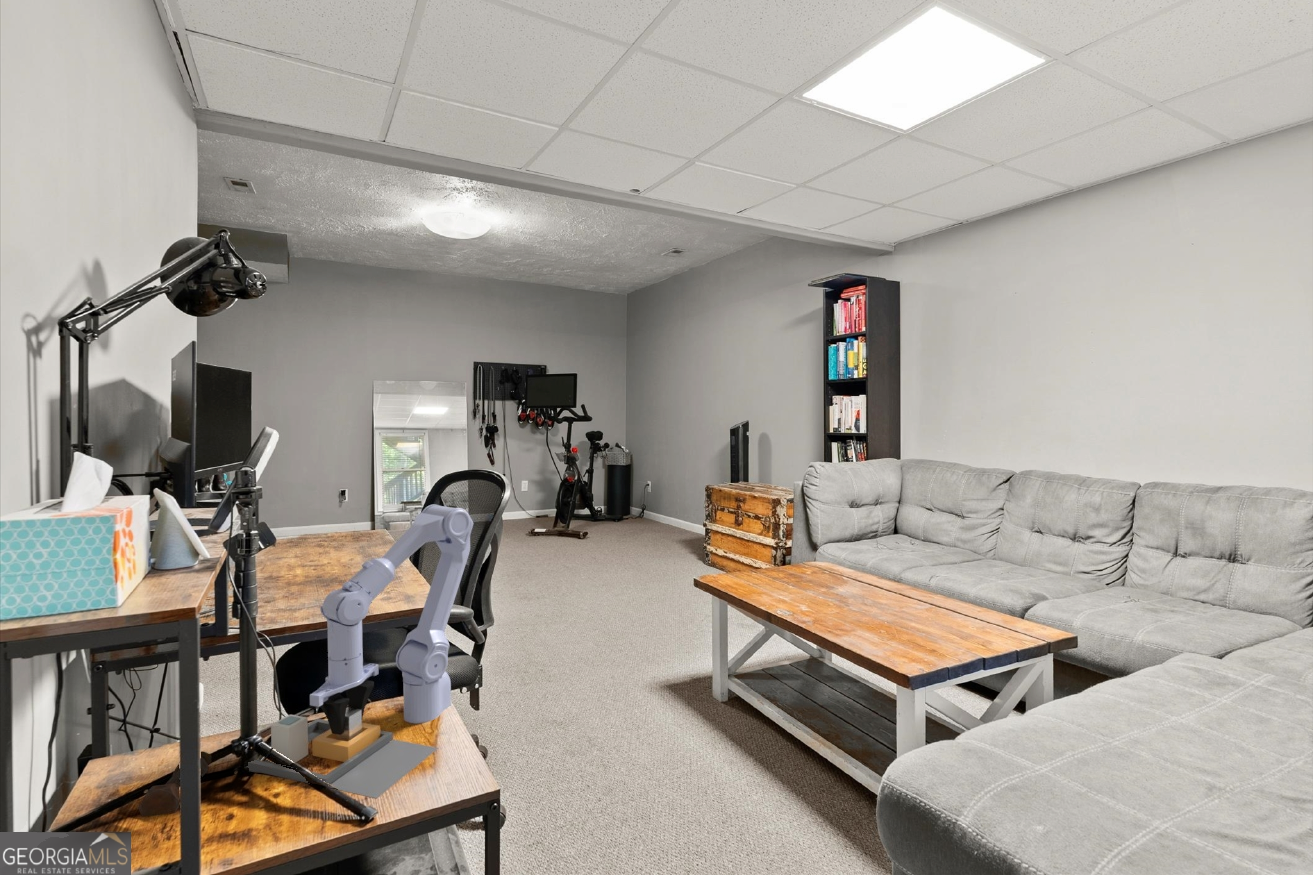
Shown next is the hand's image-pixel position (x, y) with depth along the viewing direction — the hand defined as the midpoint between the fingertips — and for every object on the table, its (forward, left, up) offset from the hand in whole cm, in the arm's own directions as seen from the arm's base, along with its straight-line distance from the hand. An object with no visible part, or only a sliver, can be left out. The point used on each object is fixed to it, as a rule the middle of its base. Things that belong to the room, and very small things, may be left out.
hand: (346, 727), depth 117 cm
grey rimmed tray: (+3, -3, -5) cm, 7 cm away
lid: (+3, +11, -5) cm, 13 cm away
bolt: (+18, -17, -6) cm, 25 cm away
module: (+6, -7, -4) cm, 10 cm away
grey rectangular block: (0, 0, -4) cm, 4 cm away
